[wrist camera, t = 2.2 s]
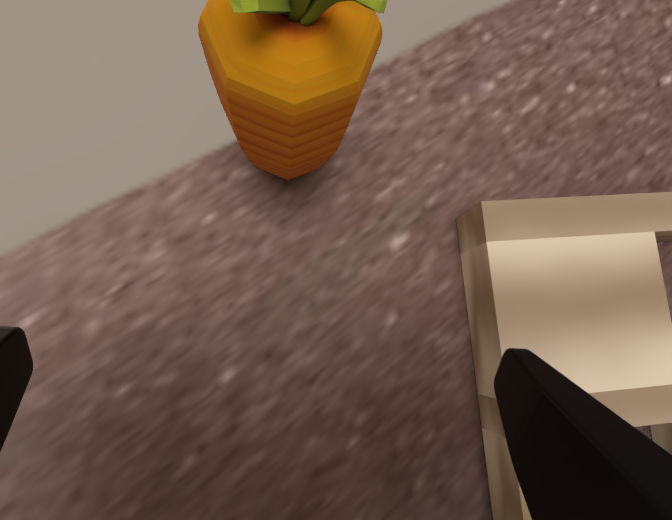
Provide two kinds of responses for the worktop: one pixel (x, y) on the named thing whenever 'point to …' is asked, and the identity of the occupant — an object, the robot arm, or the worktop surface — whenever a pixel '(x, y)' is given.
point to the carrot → (290, 74)
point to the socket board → (569, 309)
